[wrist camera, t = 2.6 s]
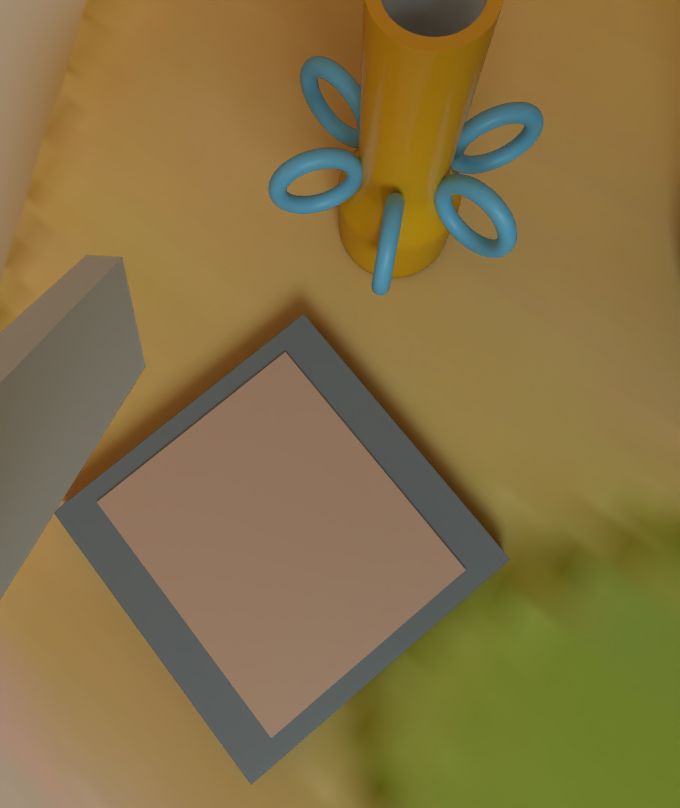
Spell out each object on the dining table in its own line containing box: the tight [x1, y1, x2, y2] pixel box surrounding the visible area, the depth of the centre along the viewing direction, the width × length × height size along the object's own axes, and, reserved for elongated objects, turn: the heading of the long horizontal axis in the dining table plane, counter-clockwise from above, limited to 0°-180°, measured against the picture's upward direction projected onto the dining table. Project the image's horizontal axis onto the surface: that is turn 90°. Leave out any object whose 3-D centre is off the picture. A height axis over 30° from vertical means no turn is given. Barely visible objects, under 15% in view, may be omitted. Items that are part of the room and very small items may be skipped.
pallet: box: [54, 314, 510, 784], centre depth 28 cm, size 16×16×1 cm
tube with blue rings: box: [269, 0, 543, 295], centre depth 23 cm, size 12×10×15 cm
